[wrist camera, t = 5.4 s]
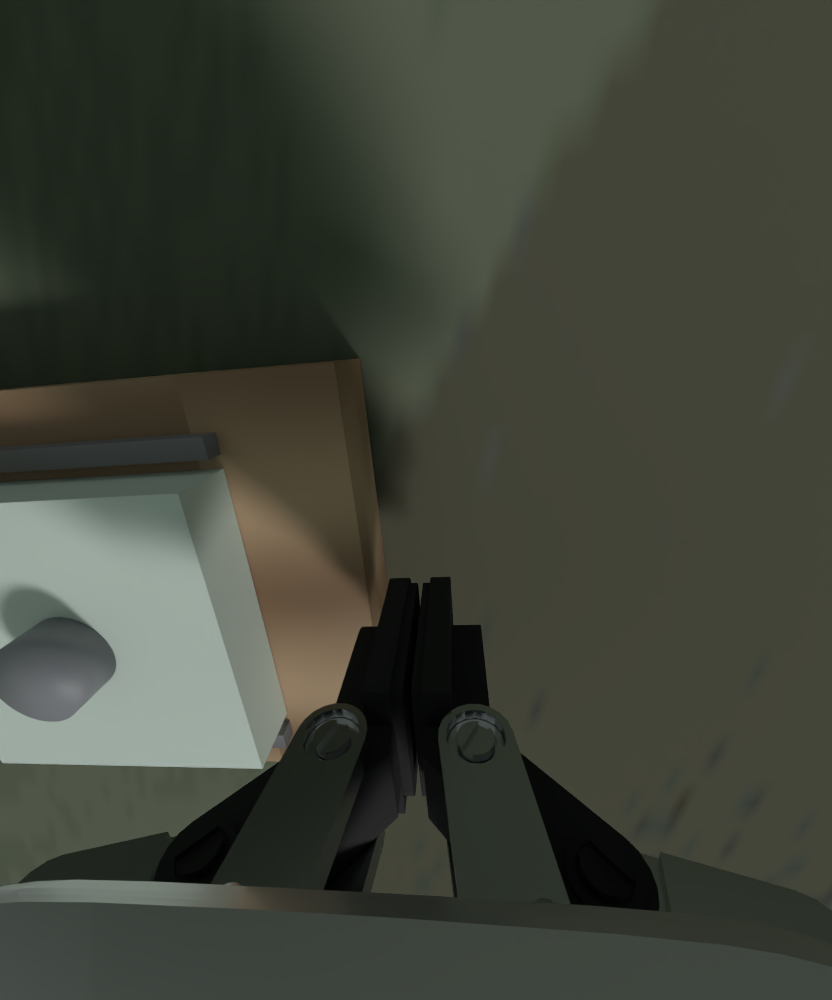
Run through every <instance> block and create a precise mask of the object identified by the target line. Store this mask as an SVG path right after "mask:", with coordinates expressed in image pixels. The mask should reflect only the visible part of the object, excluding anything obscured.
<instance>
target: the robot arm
mask: <svg viewBox="0 0 832 1000" xmlns="http://www.w3.org/2000/svg"><path fill="white" fill-rule="evenodd" d="M418 764H419V773H420V782H421V791H422V796H426V797H427V807H428V816H429V819H430V820H431V821H432V823H433V824H434V825H435V826H436V827H437V828H438V830H439V831H440V832H441V833H442V834H443V836H444V837H445V838H446V839H447V849H448V857H449V865H450V874H451V882H452V890H453V897H441V896H423V895H405V894H387V893H371V889H372V886H373V882H374V878H375V874H376V870H377V867H378V863H379V859H380V855H381V852H382V848H383V844H384V836H385V829H386V828H387V827H388V826H389V825H390V824H391V823H392V822H393V821H394V820H395V819H396V818H397V817H398V813H405V809H406V799H407V796H415V793H416V782H417V770H418ZM0 1000H832V910H830V909H829V908H828V907H826V906H825V905H823V904H822V903H821V902H819V901H818V900H816V899H814V898H812V897H809V896H807V895H805V894H803V893H800V892H798V891H796V890H792V889H789V888H785V887H782V886H778V885H775V884H771V883H768V882H764V881H761V880H757V879H754V878H750V877H747V876H743V875H740V874H736V873H733V872H729V871H725V870H722V869H718V868H715V867H711V866H708V865H704V864H701V863H697V862H694V861H690V860H687V859H683V858H680V857H676V856H673V855H669V854H666V853H662V852H660V855H659V858H656V857H652V856H649V855H645V854H642V853H640V852H639V851H638V850H637V849H636V848H635V847H634V846H633V845H632V844H631V843H630V842H629V841H628V840H627V839H626V838H625V837H623V836H622V835H621V834H620V833H618V832H617V831H616V830H615V829H613V828H612V827H611V826H610V825H609V824H607V823H606V822H605V821H604V820H602V819H601V818H600V817H599V816H597V815H596V814H595V813H594V812H593V811H591V810H590V809H589V808H588V807H586V806H585V805H584V804H583V803H581V802H580V801H579V800H578V799H577V798H575V797H574V796H573V795H572V794H570V793H569V792H568V791H567V790H565V789H564V788H563V787H562V786H561V785H559V784H558V783H557V782H556V781H554V780H553V779H552V778H551V777H549V776H548V775H547V774H546V773H544V772H543V771H542V770H541V769H540V768H538V767H537V766H536V765H535V764H533V763H532V762H531V761H530V760H528V759H527V758H526V757H525V756H524V755H522V754H521V753H520V751H519V748H518V745H517V742H516V739H515V736H514V732H513V730H512V728H511V726H510V724H509V722H508V720H507V719H506V718H505V717H504V716H503V715H502V714H501V713H500V712H498V711H496V710H494V709H493V708H491V707H489V698H488V689H487V679H486V670H485V660H484V651H483V642H482V632H481V625H453V613H452V596H451V580H450V577H431V579H430V583H423V589H422V597H421V606H420V600H419V589H418V583H411V580H410V578H392V579H390V581H389V584H388V588H387V592H386V596H385V600H384V604H383V608H382V611H381V615H380V619H379V623H378V626H369V627H361V628H360V630H359V633H358V636H357V639H356V642H355V645H354V649H353V652H352V655H351V658H350V661H349V664H348V667H347V670H346V674H345V677H344V680H343V683H342V686H341V689H340V692H339V695H338V699H337V702H336V703H334V704H330V705H326V706H323V707H321V708H319V709H317V710H315V711H314V712H313V713H311V714H310V715H309V716H308V717H307V718H305V720H304V721H303V722H302V724H301V725H300V726H299V728H298V729H297V731H296V733H295V735H294V736H293V738H292V740H291V742H290V744H289V745H288V747H287V749H286V751H285V752H284V754H283V756H282V758H281V760H280V761H279V762H278V763H277V764H275V765H274V766H272V767H271V768H270V769H268V770H267V771H265V772H264V773H262V774H261V775H260V776H258V777H257V778H255V779H254V780H252V781H251V782H249V783H248V784H247V785H245V786H244V787H242V788H241V789H239V790H238V791H236V792H235V793H234V794H232V795H231V796H229V797H228V798H226V799H225V800H224V801H222V802H221V803H219V804H218V805H216V806H215V807H213V808H212V809H211V810H209V811H208V812H206V813H205V814H203V815H202V816H200V817H199V818H198V819H196V820H195V821H193V822H192V823H191V824H190V825H188V826H187V827H186V828H185V829H184V830H182V831H181V832H180V833H179V834H178V835H177V836H175V837H171V838H170V835H169V833H168V832H164V833H160V834H155V835H150V836H146V837H141V838H137V839H132V840H128V841H123V842H119V843H114V844H110V845H105V846H101V847H96V848H91V849H87V850H82V851H78V852H73V853H69V854H64V855H61V856H59V857H56V858H54V859H51V860H48V861H47V862H45V863H44V864H42V865H40V866H39V867H37V868H36V869H34V870H33V871H31V872H30V873H29V874H28V875H27V876H26V877H25V878H23V879H22V880H21V881H20V882H19V883H18V884H13V885H6V886H1V887H0Z"/></svg>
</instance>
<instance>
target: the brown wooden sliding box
mask: <svg viewBox="0 0 832 1000" xmlns="http://www.w3.org/2000/svg"><path fill="white" fill-rule="evenodd" d="M208 469H224V472H225V476H226V480H227V484H228V488H229V491H230V495H231V499H232V503H233V507H234V511H235V515H236V518H237V522H238V526H239V530H240V534H241V538H242V542H243V545H244V549H245V553H246V557H247V561H248V565H249V569H250V572H251V576H252V580H253V584H254V588H255V592H256V595H257V599H258V603H259V607H260V611H261V615H262V619H263V622H264V626H265V630H266V634H267V638H268V642H269V646H270V649H271V653H272V657H273V661H274V665H275V669H276V673H277V676H278V680H279V684H280V688H281V692H282V696H283V699H284V703H285V707H286V711H287V715H286V717H285V719H284V721H283V724H282V726H281V728H280V731H279V733H278V735H277V737H276V740H275V742H274V744H273V746H272V749H271V751H270V753H269V755H268V758H267V760H266V761H280V760H281V758H282V756H283V754H284V752H285V751H286V749H287V747H288V745H289V744H290V742H291V740H292V738H293V736H294V735H295V733H296V731H297V729H298V728H299V726H300V725H301V724H302V722H303V721H304V720H305V718H307V717H308V716H309V715H310V714H311V713H313V712H314V711H315V710H317V709H319V708H321V707H323V706H326V705H330V704H334V703H336V702H337V699H338V695H339V692H340V689H341V686H342V683H343V680H344V677H345V674H346V670H347V667H348V664H349V661H350V658H351V655H352V652H353V649H354V645H355V642H356V639H357V636H358V633H359V630H360V628H361V627H369V626H378V623H379V619H380V615H381V611H382V608H383V604H384V600H385V596H386V592H387V588H388V583H387V575H386V567H385V559H384V551H383V543H382V534H381V526H380V518H379V510H378V502H377V494H376V486H375V478H374V470H373V462H372V454H371V446H370V438H369V430H368V421H367V413H366V405H365V397H364V389H363V381H362V373H361V365H360V358H357V359H345V360H334V361H322V362H311V363H299V364H287V365H276V366H264V367H253V368H241V369H230V370H218V371H206V372H195V373H183V374H172V375H160V376H148V377H137V378H125V379H114V380H102V381H90V382H79V383H67V384H56V385H44V386H33V387H21V388H9V389H0V482H7V481H23V480H40V479H57V478H74V477H91V476H107V475H124V474H141V473H158V472H175V471H192V470H208Z"/></svg>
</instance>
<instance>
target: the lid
mask: <svg viewBox="0 0 832 1000" xmlns="http://www.w3.org/2000/svg"><path fill="white" fill-rule="evenodd" d="M286 715H287V711H286V707H285V703H284V699H283V696H282V692H281V688H280V684H279V680H278V676H277V673H276V669H275V665H274V661H273V657H272V653H271V649H270V646H269V642H268V638H267V634H266V630H265V626H264V622H263V619H262V615H261V611H260V607H259V603H258V599H257V595H256V592H255V588H254V584H253V580H252V576H251V572H250V569H249V565H248V561H247V557H246V553H245V549H244V545H243V542H242V538H241V534H240V530H239V526H238V522H237V518H236V515H235V511H234V507H233V503H232V499H231V495H230V491H229V488H228V484H227V480H226V476H225V472H224V469H208V470H192V471H175V472H158V473H141V474H124V475H107V476H91V477H74V478H57V479H40V480H23V481H7V482H0V760H1V761H2V763H27V764H73V765H118V766H163V767H209V768H254V769H263V767H264V764H265V762H266V760H267V758H268V755H269V753H270V751H271V749H272V746H273V744H274V742H275V740H276V737H277V735H278V733H279V731H280V728H281V726H282V724H283V721H284V719H285V717H286Z"/></svg>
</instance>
